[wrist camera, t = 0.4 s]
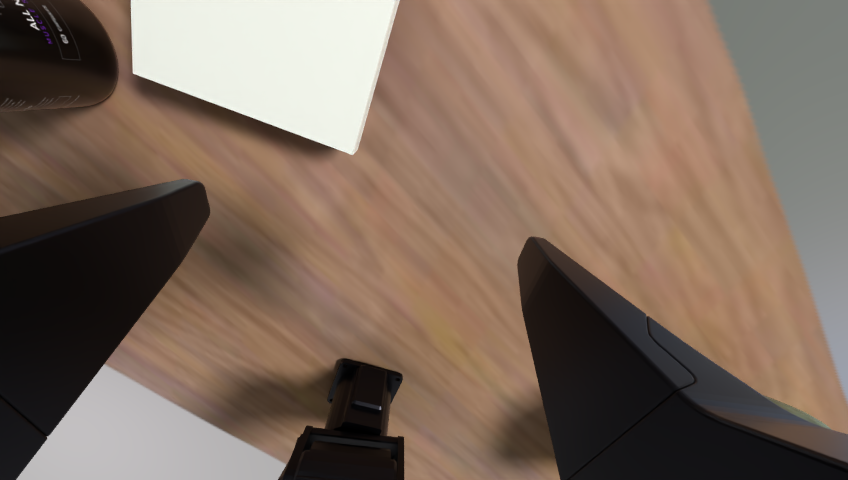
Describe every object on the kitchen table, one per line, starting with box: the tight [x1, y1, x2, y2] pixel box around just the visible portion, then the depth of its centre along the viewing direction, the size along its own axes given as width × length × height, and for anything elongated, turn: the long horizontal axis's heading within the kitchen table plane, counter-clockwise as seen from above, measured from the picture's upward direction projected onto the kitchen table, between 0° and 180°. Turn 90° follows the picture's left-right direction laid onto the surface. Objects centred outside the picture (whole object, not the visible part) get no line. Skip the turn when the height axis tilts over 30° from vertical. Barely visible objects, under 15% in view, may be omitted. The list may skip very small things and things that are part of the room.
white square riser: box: [131, 0, 400, 155], centre depth 17 cm, size 12×12×4 cm
